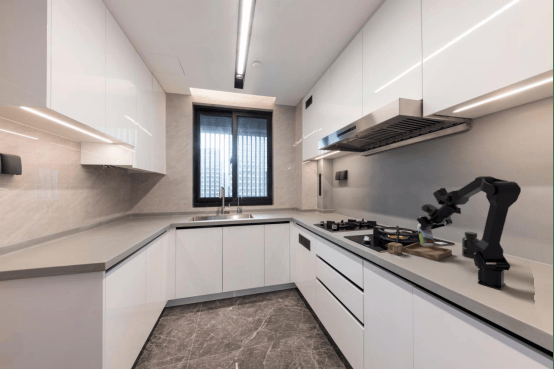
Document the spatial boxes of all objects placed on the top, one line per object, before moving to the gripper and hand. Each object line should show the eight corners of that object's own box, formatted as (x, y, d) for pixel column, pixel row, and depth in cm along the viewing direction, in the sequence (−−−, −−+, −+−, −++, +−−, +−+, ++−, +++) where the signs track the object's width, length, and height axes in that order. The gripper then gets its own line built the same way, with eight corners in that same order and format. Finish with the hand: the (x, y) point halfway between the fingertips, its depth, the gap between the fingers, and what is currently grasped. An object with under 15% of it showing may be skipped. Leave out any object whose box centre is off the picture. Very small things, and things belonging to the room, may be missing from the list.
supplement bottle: (460, 256, 119) (460, 232, 118) (464, 253, 123) (464, 230, 122) (477, 259, 113) (477, 235, 113) (481, 256, 117) (481, 232, 117)
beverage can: (429, 245, 117) (426, 221, 120) (415, 245, 123) (413, 222, 127) (437, 247, 119) (435, 223, 122) (424, 247, 125) (422, 224, 129)
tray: (451, 254, 121) (451, 249, 121) (437, 261, 113) (437, 256, 113) (417, 246, 136) (417, 242, 135) (402, 252, 127) (402, 247, 127)
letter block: (402, 253, 125) (402, 244, 125) (397, 255, 123) (396, 246, 122) (393, 251, 130) (393, 242, 129) (387, 253, 127) (387, 243, 127)
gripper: (446, 198, 123) (426, 216, 133) (419, 200, 116) (401, 219, 127) (462, 215, 115) (440, 233, 126) (435, 218, 109) (414, 237, 120)
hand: (424, 230), depth 125 cm, fingers closed on beverage can, 6 cm apart
